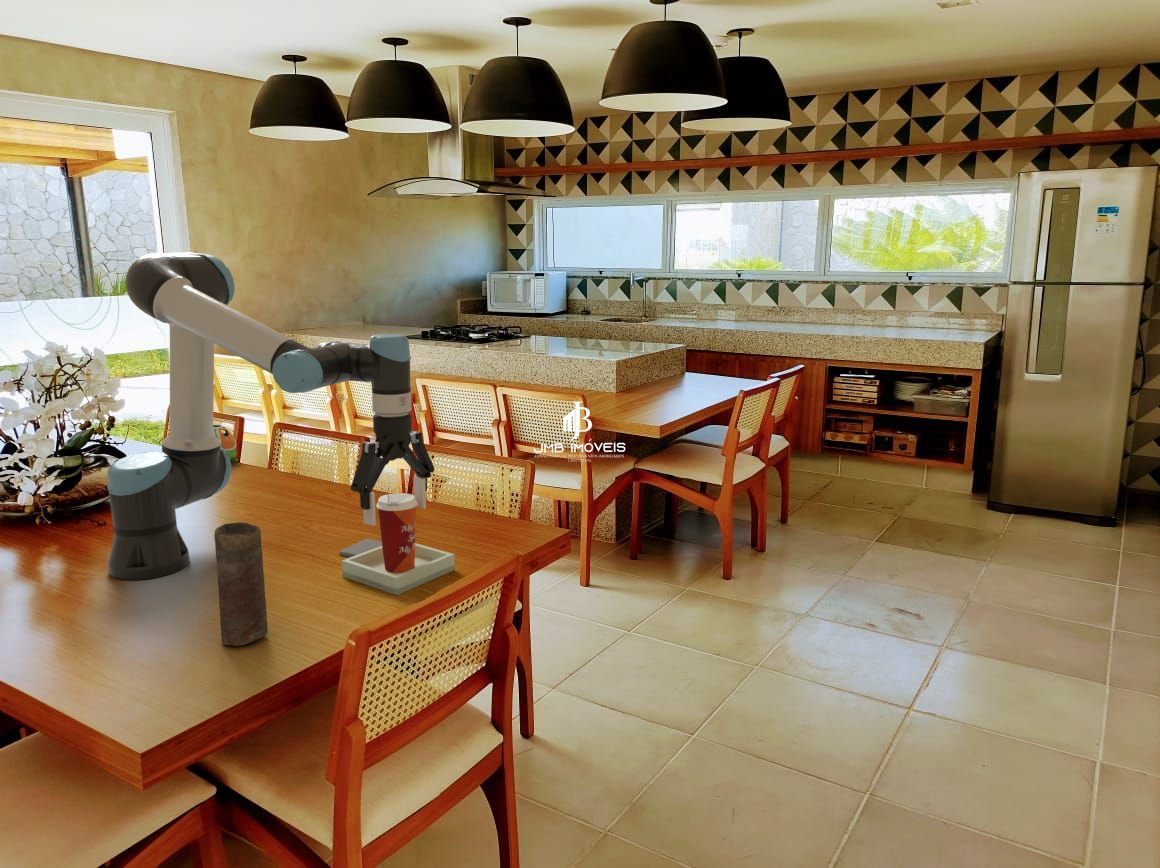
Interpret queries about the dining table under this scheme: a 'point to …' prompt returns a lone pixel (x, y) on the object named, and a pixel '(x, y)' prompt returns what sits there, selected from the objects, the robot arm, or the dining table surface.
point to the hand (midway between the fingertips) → (395, 515)
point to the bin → (373, 573)
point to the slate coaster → (360, 547)
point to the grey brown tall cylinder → (240, 583)
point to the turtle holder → (226, 441)
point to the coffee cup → (398, 531)
